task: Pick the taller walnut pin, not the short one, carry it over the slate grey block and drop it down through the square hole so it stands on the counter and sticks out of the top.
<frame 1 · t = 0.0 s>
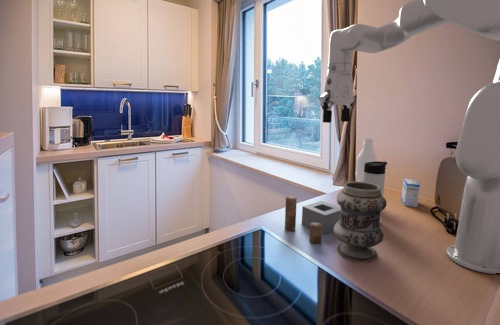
hand: (336, 121, 103), 31 cm above the countertop, tool pointing down, fingers open, 9 cm apart
apothecary jar: (356, 252, 78), on the countertop
water bottle: (362, 203, 114), on the countertop
short pin: (315, 241, 83), on the countertop
medicine box: (408, 203, 115), on the countertop
long pin: (290, 229, 91), on the countertop
travel mug: (370, 222, 97), on the countertop
socket block: (322, 225, 94), on the countertop
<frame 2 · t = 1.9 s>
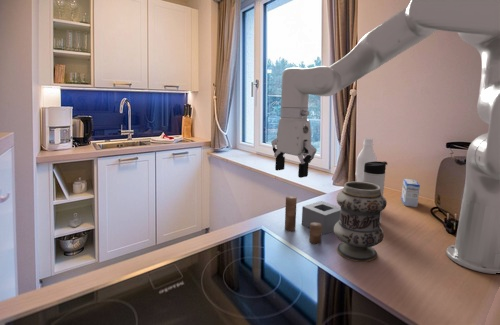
hand: (290, 173, 88), 17 cm above the countertop, tool pointing down, fingers open, 9 cm apart
nothing on the countertop moved.
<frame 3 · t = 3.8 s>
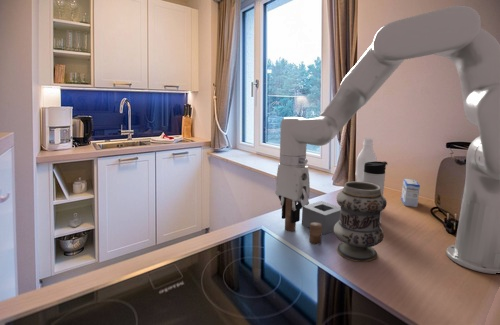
hand: (290, 219, 90), 3 cm above the countertop, tool pointing down, fingers closed on long pin, 3 cm apart
long pin: (290, 229, 91), on the countertop, touching gripper
everything else where it was.
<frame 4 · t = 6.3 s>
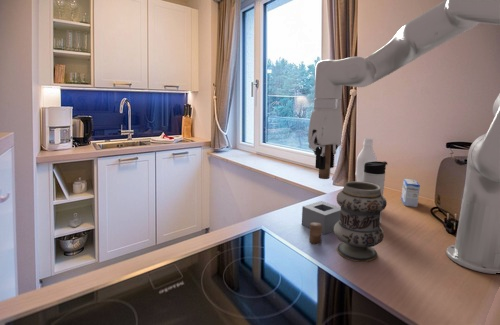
hand: (324, 167, 90), 19 cm above the countertop, tool pointing down, fingers closed on long pin, 3 cm apart
long pin: (323, 177, 90), point 16 cm above the countertop, touching gripper
everything else where it was.
when the fingers open (7 cm above the countertop, at t = 8.9 s): long pin drops 4 cm, resting in socket block.
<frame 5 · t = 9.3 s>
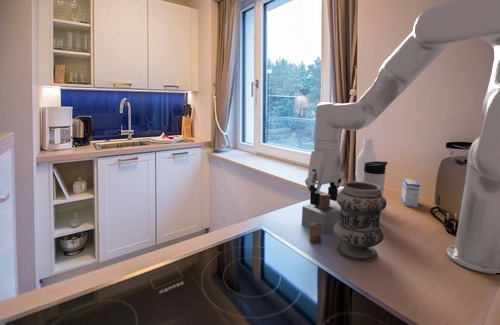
hand: (323, 201, 92), 8 cm above the countertop, tool pointing down, fingers open, 7 cm apart
long pin: (322, 225, 94), resting in socket block
everything else where it was.
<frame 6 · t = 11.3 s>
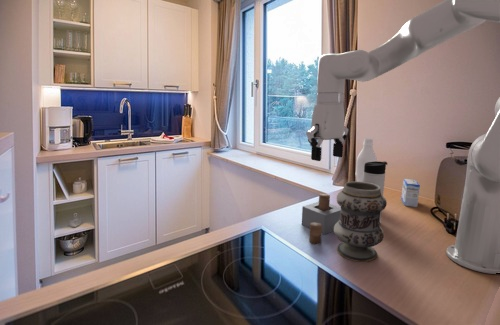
hand: (327, 158, 89), 21 cm above the countertop, tool pointing down, fingers open, 9 cm apart
nothing on the countertop moved.
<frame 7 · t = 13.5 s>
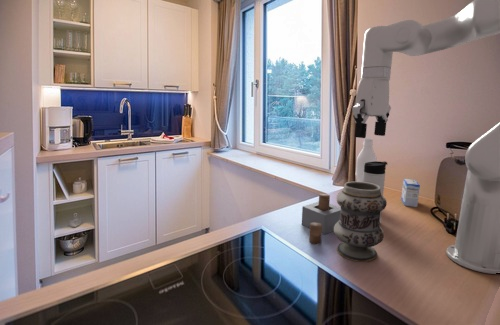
hand: (370, 136, 87), 28 cm above the countertop, tool pointing down, fingers open, 9 cm apart
nothing on the countertop moved.
at the end: long pin 0.1 cm off-centre on the socket block, point 0.0 cm above the socket block's base; long pin tilted 0°; short pin moved 0.0 cm from its start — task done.
